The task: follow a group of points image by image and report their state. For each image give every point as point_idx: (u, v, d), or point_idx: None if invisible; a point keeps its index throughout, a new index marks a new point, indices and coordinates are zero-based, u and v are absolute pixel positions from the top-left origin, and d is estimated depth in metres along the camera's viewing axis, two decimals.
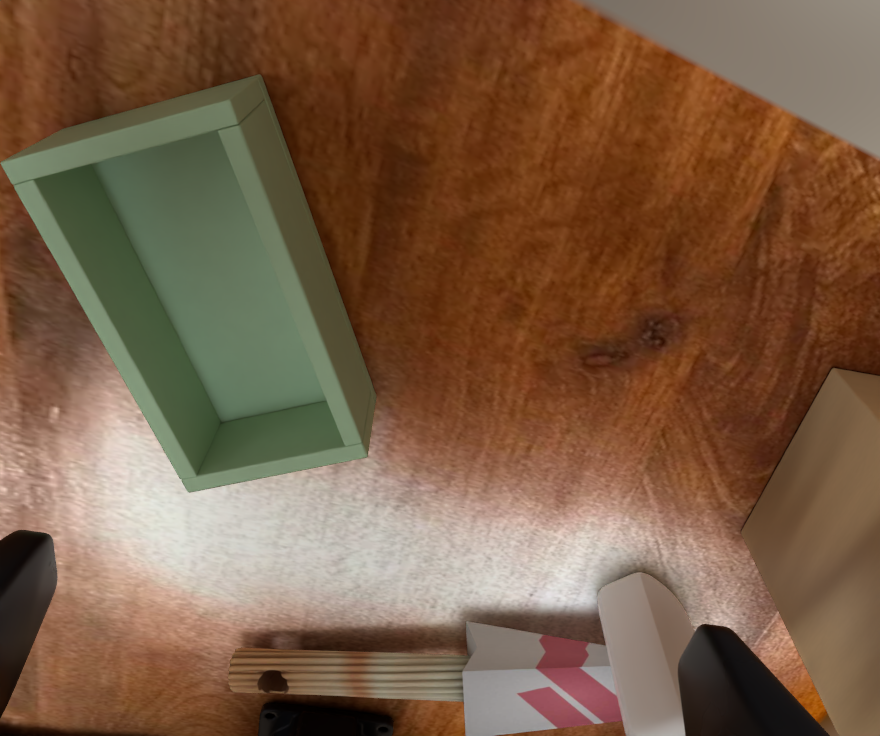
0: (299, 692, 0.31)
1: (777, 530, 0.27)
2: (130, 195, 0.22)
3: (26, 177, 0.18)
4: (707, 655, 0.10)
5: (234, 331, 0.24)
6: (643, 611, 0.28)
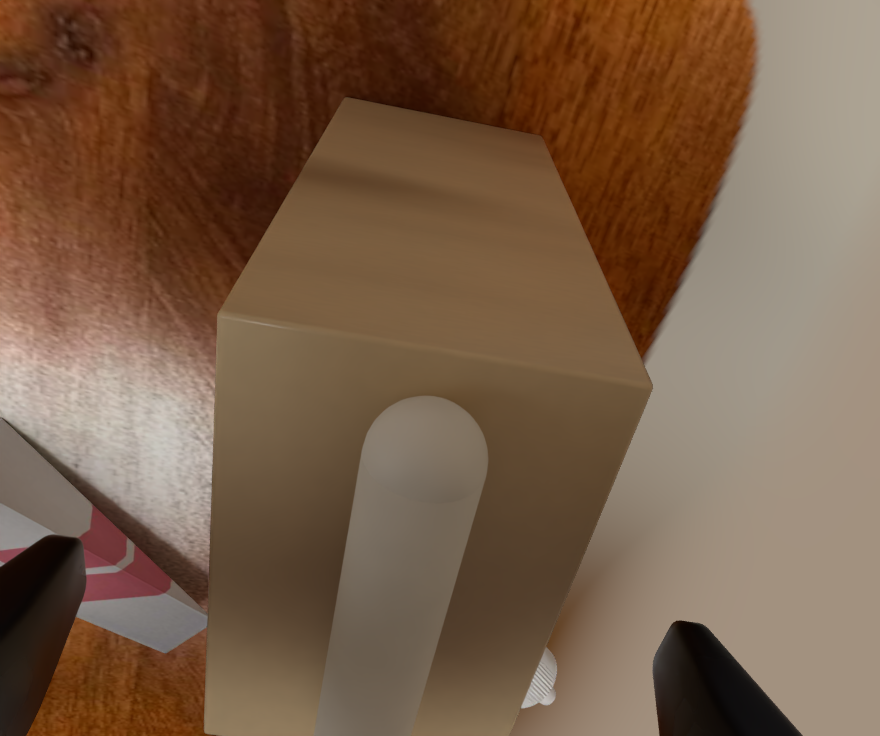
0: None
1: None
2: None
3: None
4: (680, 651, 0.10)
5: None
6: None
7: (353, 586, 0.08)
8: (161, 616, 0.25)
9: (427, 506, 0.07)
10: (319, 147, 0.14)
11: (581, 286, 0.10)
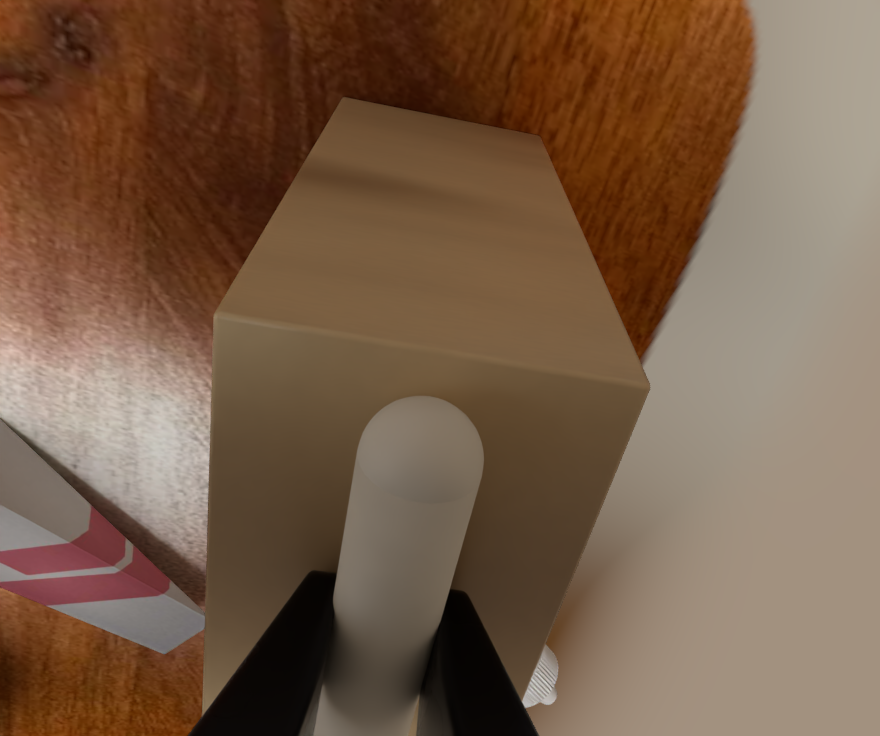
0: None
1: None
2: None
3: None
4: None
5: None
6: None
7: (348, 586, 0.08)
8: (160, 617, 0.25)
9: (421, 506, 0.07)
10: (317, 147, 0.14)
11: (579, 286, 0.10)
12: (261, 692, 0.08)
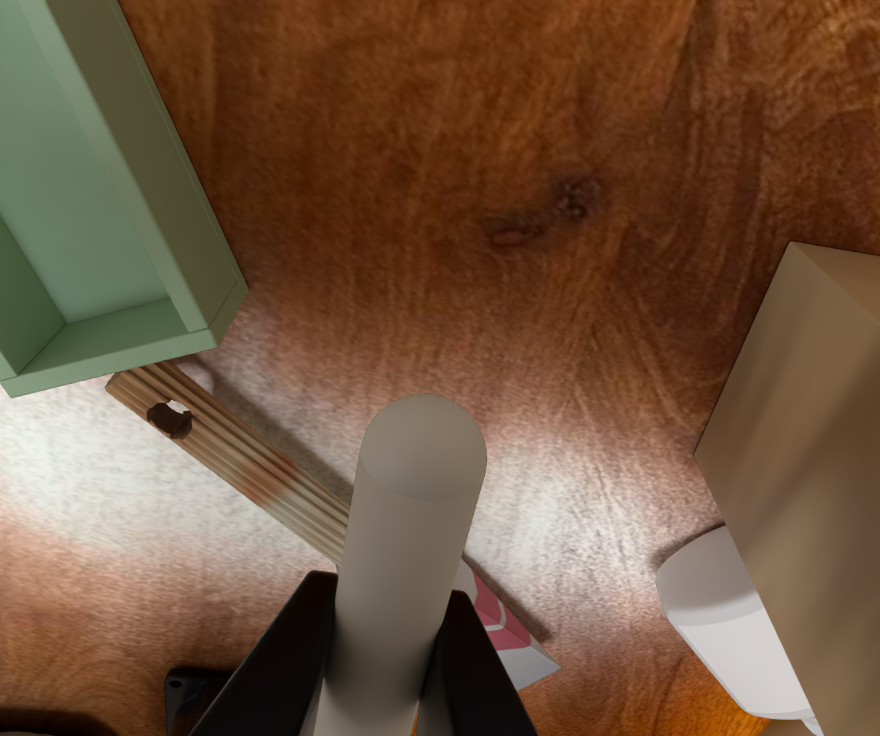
0: None
1: (731, 443, 0.22)
2: None
3: None
4: None
5: (64, 205, 0.20)
6: None
7: (351, 585, 0.08)
8: (517, 665, 0.28)
9: (425, 504, 0.07)
10: (874, 315, 0.17)
11: None
12: (261, 692, 0.08)
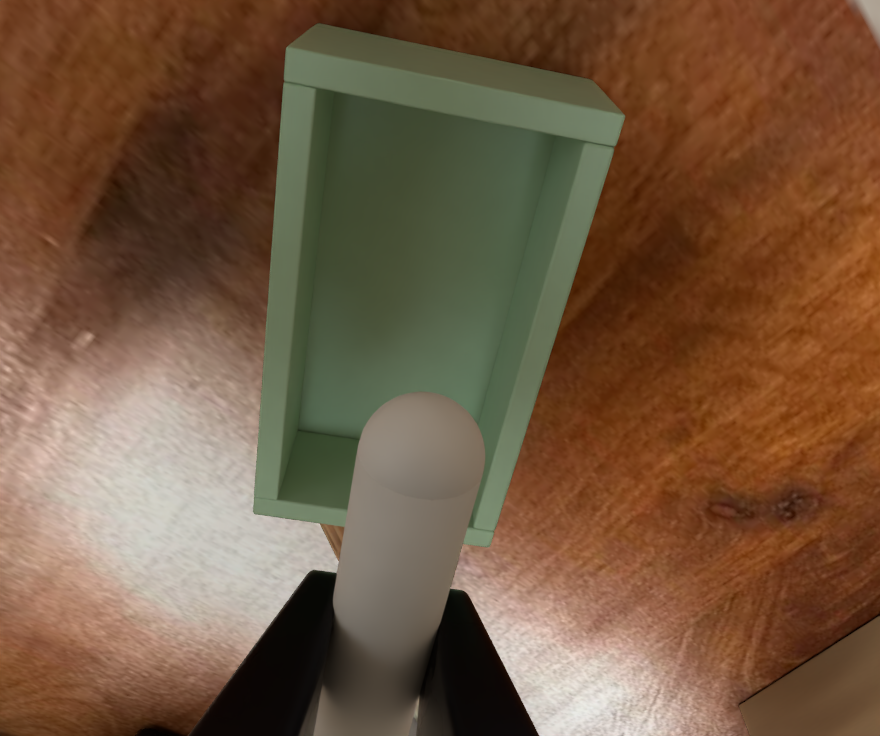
0: None
1: (796, 726, 0.26)
2: (359, 140, 0.16)
3: (309, 81, 0.13)
4: None
5: (380, 340, 0.19)
6: None
7: (349, 584, 0.08)
8: None
9: (423, 502, 0.07)
10: None
11: None
12: (261, 692, 0.08)
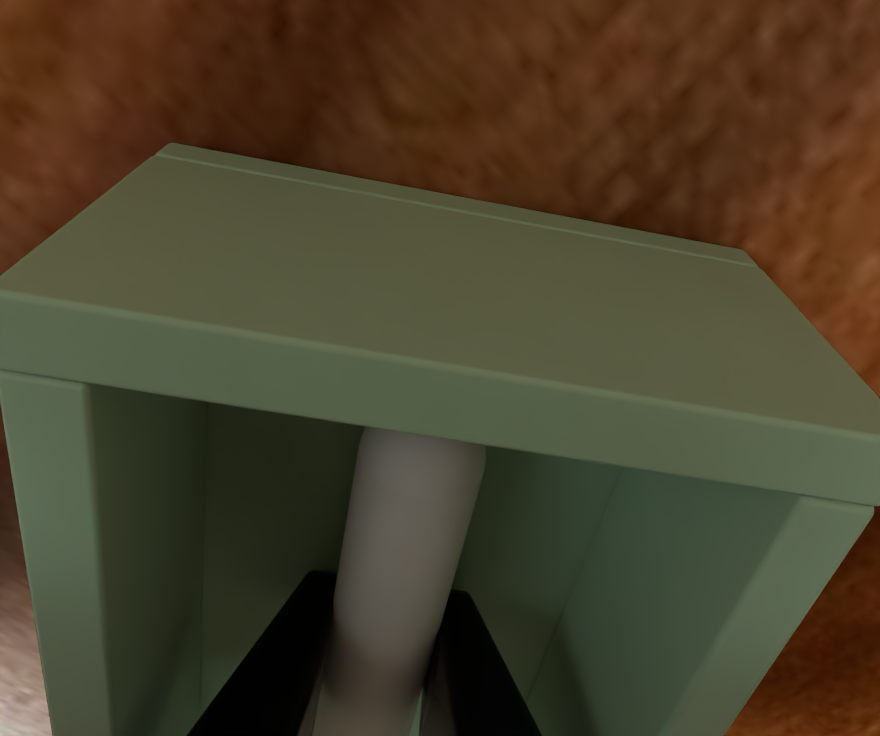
0: None
1: None
2: None
3: (64, 369, 0.05)
4: None
5: None
6: None
7: (350, 584, 0.08)
8: None
9: (423, 502, 0.07)
10: None
11: None
12: (260, 692, 0.08)
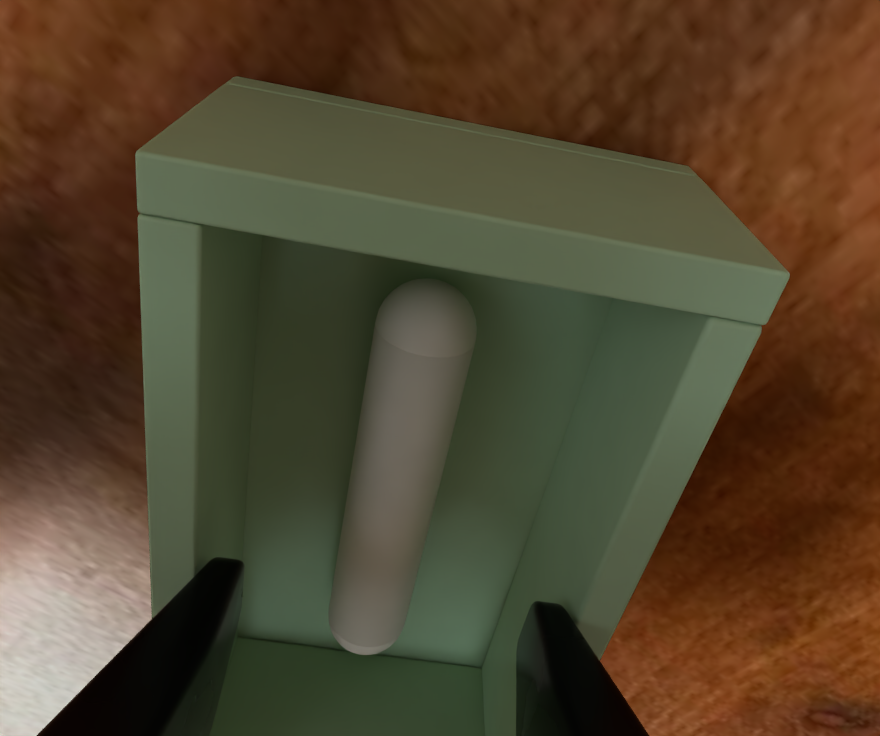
0: None
1: None
2: (309, 261, 0.10)
3: (186, 213, 0.07)
4: (534, 632, 0.10)
5: None
6: None
7: (365, 434, 0.10)
8: None
9: (420, 358, 0.09)
10: None
11: None
12: (137, 677, 0.07)
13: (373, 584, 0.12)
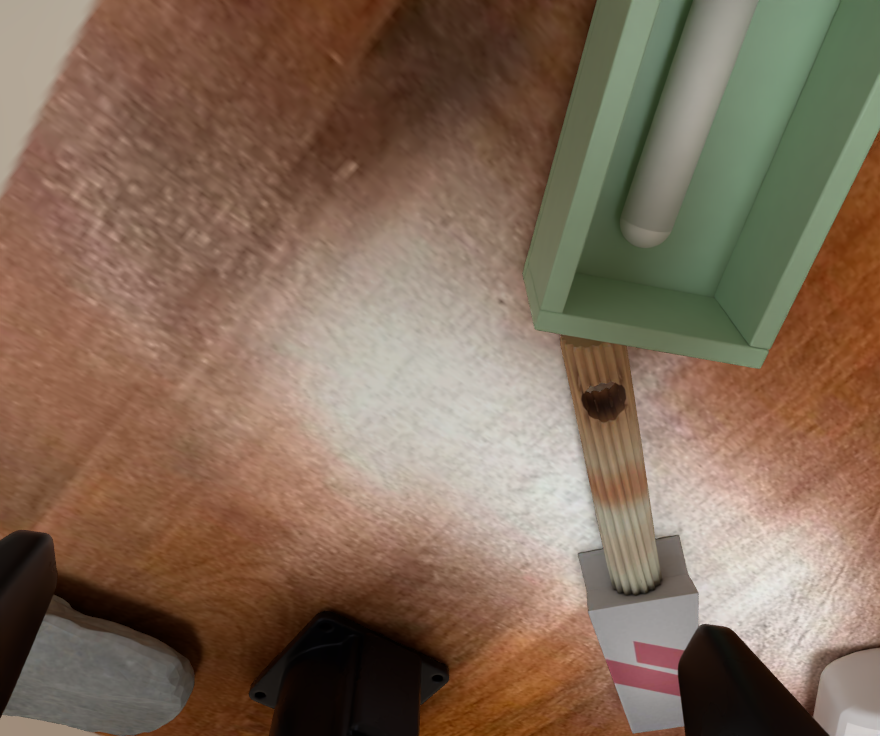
0: None
1: None
2: None
3: None
4: (707, 655, 0.10)
5: None
6: None
7: (680, 45, 0.17)
8: (671, 711, 0.30)
9: None
10: None
11: None
12: None
13: (659, 168, 0.18)
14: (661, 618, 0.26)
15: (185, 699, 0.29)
